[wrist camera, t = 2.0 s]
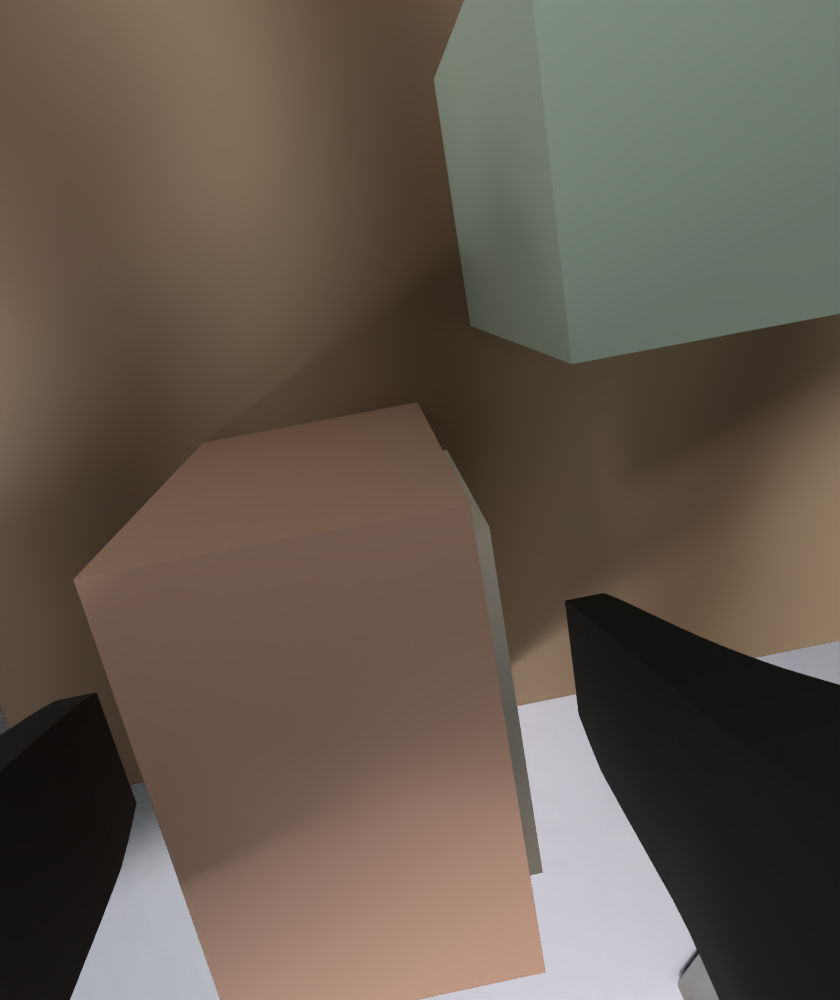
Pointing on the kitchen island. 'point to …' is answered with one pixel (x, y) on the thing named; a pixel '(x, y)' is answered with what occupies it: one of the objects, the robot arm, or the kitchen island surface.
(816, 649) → the kitchen island surface
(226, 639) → the terracotta box
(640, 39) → the sage box
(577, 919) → the kitchen island surface
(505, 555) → the shelf board
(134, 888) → the kitchen island surface
